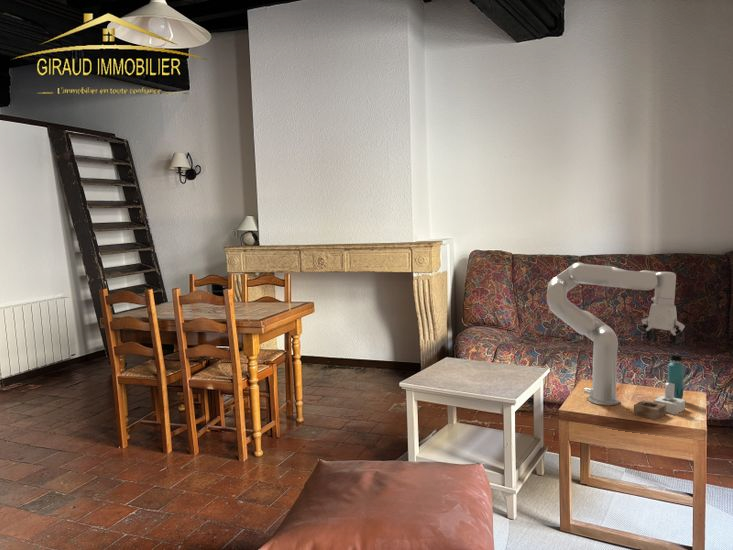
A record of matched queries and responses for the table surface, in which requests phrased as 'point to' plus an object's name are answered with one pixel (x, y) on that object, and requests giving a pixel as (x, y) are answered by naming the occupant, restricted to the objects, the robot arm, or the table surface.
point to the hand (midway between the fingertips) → (661, 342)
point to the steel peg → (669, 391)
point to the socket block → (650, 409)
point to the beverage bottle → (676, 375)
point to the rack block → (672, 404)
